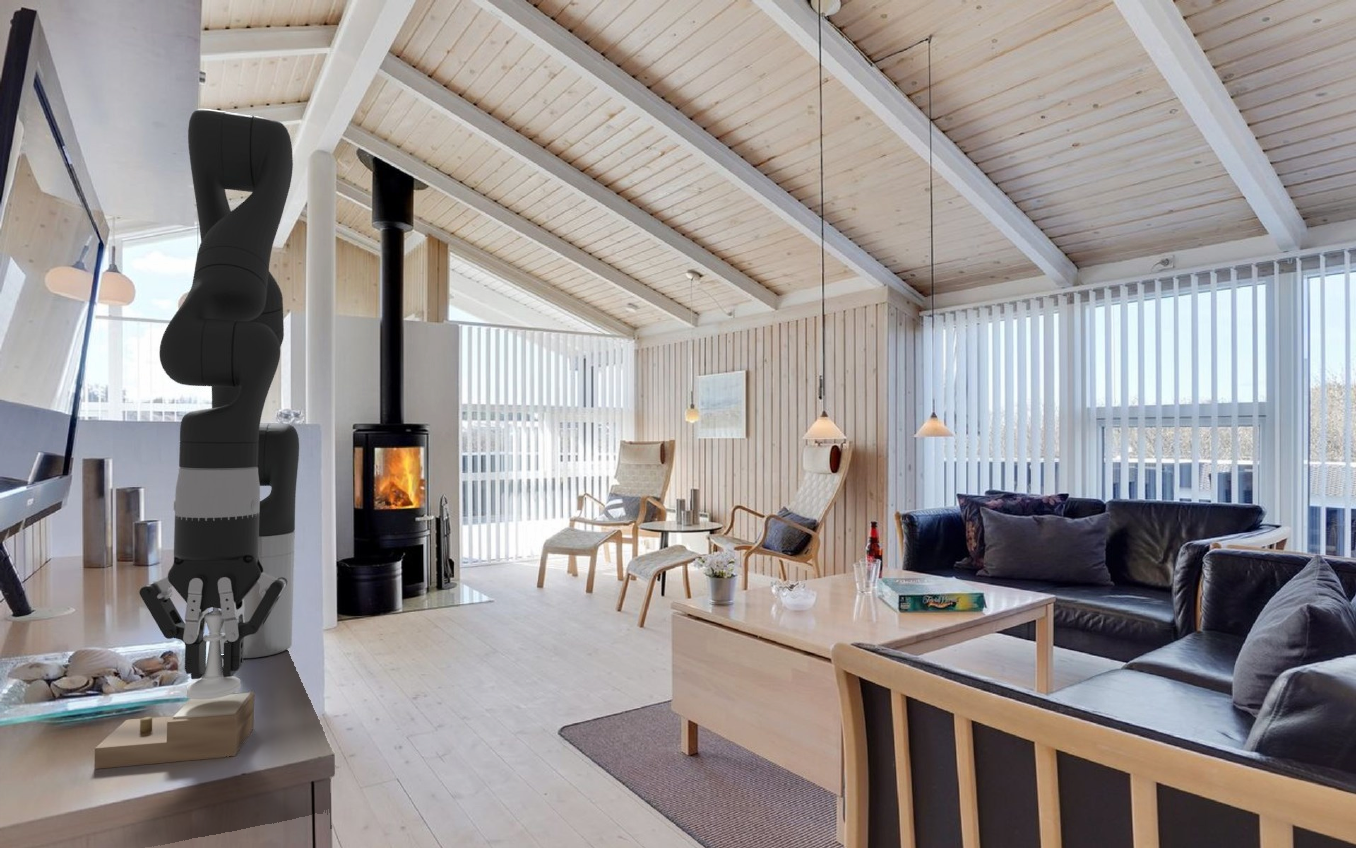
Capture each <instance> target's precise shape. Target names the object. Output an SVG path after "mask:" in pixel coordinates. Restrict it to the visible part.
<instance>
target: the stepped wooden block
mask: <svg viewBox="0 0 1356 848" xmlns="http://www.w3.org/2000/svg"><path fill="white" fill-rule="evenodd" d="M255 693H256V692H255V691H251V692H250V691H248V692H238V693H237V692H234V693H232V694H230V695H227V696H223V697H218V698H213V699H191V698H188V700H187V701H186V702H185V703H184V704H183V705H182V706H181V707H180V708H179V709H178V710H177V711H176V712H175V714H173V715H172V716H171V715H170V716H157V717H152V716H145V717H142V718H132V719H126V720H125V721H124V722H122V723H121V724H120V725H119V726H118V727H117V728H116V729H115V730H113V731H112V732H111V733H110V734H109V735H108V736H107V737H105V738H104V739H103V740H102V741H101V743H99V744H98V745H97V746H96V747H94V764H93V765H94V766H93V767H94V770H97V769H108V768H110V769H111V768H118V767H119V768H121V767H129V766H131V767H132V766H141V765H152V764H153V765H154V764H155V765H156V764H163V763H174V762H186V761H195V760H210V759H219V758H220V759H221V758H230V757H229V756H233V757H235V756H236V755H237V753H238V752H239V751H240V749H241V748H240V747H242V746H243V745H242V744H244V743H245V742H246V741H247V739H248V738H249V736H250V735H251V733H252V731H253V730H254V726H255V725H254V723H255ZM252 729H253V730H252ZM250 732H251V733H250ZM248 735H249V736H248ZM244 741H245V742H244ZM243 742H244V743H243ZM239 748H240V749H239ZM238 750H239V751H238ZM237 751H238V752H237ZM226 756H227V757H226Z"/></svg>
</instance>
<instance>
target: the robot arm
mask: <svg viewBox="0 0 1356 848" xmlns="http://www.w3.org/2000/svg"><path fill="white" fill-rule="evenodd" d="M187 140H188V142H187V143H188V153H189V162H190V169H191V170H190V171H191V176H192V184H193V190H194V196H195V197H194V198H195V204H196V212H197V219H198V227H199V233H200V234H199V235H200V244H199V248H198V249H197V250H198V251H197V255H196V260H195V267H194V272H193V276H192V277H193V279H192V282H191V283H192V285H191V287H190V290H189V292H188V293H187V295H186V297H185V299H184V300H183V302H182V304H181V305H180V307H179V308H178V310H177V311H176V312H175V314H174V316H173V317H172V318H171V319H170V321H169V323H168V324H167V327H166V328H165V330H164V332H163V335H162V337H161V341H160V344H159V345H160V346H159V353H158V354H159V361H160V365H161V368H162V369H163V371H164V373H165V374H166V375H167V376H168V377H169V378H170V380H172V381H174V382H175V383H177V384H180V385H185V386H191V387H192V386H193V387H195V386H196V387H211V408H204V409H197V410H193V411H190V412H187V413H186V414H184V415H183V417H182V418H181V421H180V427H179V429H180V431H179V452H178V453H179V459H178V461H179V462H178V465H179V468H178V475H177V481H176V486H175V494H174V497H175V498H174V501H173V510H174V527H173V528H174V533H173V534H174V535H173V539H174V540H173V563H172V566H171V567H170V569H169V571H168V573H167V576H166V577H163V578H161V579H159V580H154V581H152V582H149V583H148V584H145V585H144V586H143V587H141V588H140V590H139V596H140V598H141V599H142V601H143V603H144V604H145V606H146V608H147V609H148V611H149V613H150V614H151V617H152V618H153V620H154V621H155V623H156V625H157V626H158V628H159V630H160V631H161V634H162V635H163V637H165V638H166V639H169V640H170V639H171V640H172V639H176V640H179V641H182V642H183V643H184V646H185V647H184V671H185V673H186V674H187V675H189V674H190V679H191V680H199V679H202V678H201V676H202V675H203V674H204V673H205V669H206V663H207V641H204V640H203V638H204V634H205V630H206V626H207V623H206V621H205V618H204V615H205V614H207V613H209V612H210V609H211V608H213V607H215V608H219V610H220V611H221V612H222V619H223V621H224V623H223V627H222V629H221V632H222V633H225V635H226V638H225V639H222V640H220V645H221V654H224V656H223V658H222V664H223V677H232V676H234V675H235V674H236V672H238V670H239V669H240V668H241V667H242V666H243V663H244V659H253V658H260V657H266V656H267V657H268V656H272V655H276V654H279V653H282V652H285V651H287V650H288V649H290V648H291V647H292V645H293V644H292V642H293V641H292V640H293V619H294V618H293V614H294V612H293V611H294V609H293V608H294V580H295V579H294V575H295V574H294V573H295V535H296V534H295V533H296V531H295V529H296V497H297V496H296V493H297V478H298V468H299V458H300V440H299V439H300V438H299V434H298V432H297V430H296V428H295V426H293V425H291V424H287V423H267V422H265V423H263V422H261V421H262V415H263V411H264V407H265V403H266V400H267V396H268V394H269V391H270V388H271V385H272V383H273V380H274V377H275V375H276V374H277V373H276V372H277V369H278V367H279V363H280V360H281V359H280V358H281V347H282V344H283V341H284V336H285V329H284V326H285V325H284V324H285V323H284V303H283V300H284V299H283V297H284V296H283V294H282V290H281V288H280V286H279V284H278V282H277V280H276V279H275V277H274V276H273V274H272V273H271V272H270V262H271V261H270V260H271V255H272V251H273V246H274V242H275V239H276V235H277V233H278V229H279V226H280V224H281V221H282V217H283V213H284V210H285V207H286V203H287V199H288V196H289V191H290V187H291V182H292V178H293V168H294V167H293V165H294V159H293V156H294V155H293V146H292V140H291V136H290V134H289V131H288V129H287V127H286V126H285V125H284V124H283V123H282V122H280V121H279V120H275V119H272V118H267V117H262V116H257V115H254V116H253V115H249V114H243V113H237V112H229V111H222V110H217V109H209V108H198V109H196V110H194V111H193V112H192V113H191V115H190V118H189V121H188V129H187ZM226 190H228V191H229V190H231V191H239V192H247V193H248V192H249V193H250V195H248V197H247V198H246V199H245V200H244V201H242V202H241V203H240V204H239V205H238V206H236V207H235V208H234V209H233V210H231V208H230V205H229V204H230V203H229V201H228V197H227V192H226ZM261 487H270V488H271V489H270V492H269V494H268V496H266V497H265V498H264V499H262V500H261ZM172 587H173V588H174V589H175V591H176V592H177V593H178V595H179V596H181V598H182V599H183V601H184V602H185V603H186V607H185V614H184V620H183V618H182V616H181V615H180V613H179V611H178V610H177V608H176V606H175V604H174V603H173V601H172V599H171V597H172V596H173V590H172Z"/></svg>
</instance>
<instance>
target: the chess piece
mask: <svg viewBox="0 0 1356 848" xmlns="http://www.w3.org/2000/svg"><path fill="white" fill-rule="evenodd" d="M204 618H205V621H206V626H207V629H208V631H209V632H208V634H205V635H203V640H204V641H206V642H209V645H208V651H207V656H206V669H205V673H204V674H203V675H202V676H201V678H200V679H196V680H195V681H193V682H191V683H189V684H188V685H187V687H186V692H185V697H186V698H188V699H190V698H191V699H213V698H218V697H223V696H227V695H230V694H233V693H237V692H238V691H239V690H240V689H241V688H242V685H241V679H240V678H238V677H237V676H234V675H233V676H232V677H223V658H222V655H221V645H220V640H222V639H225V638H226V635H225V633H222V632H221V629H222V627H223V623H224V621H223V619H222V612H221V609H220V608H215V607H212V611H209V613H207V614H205V615H204Z"/></svg>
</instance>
